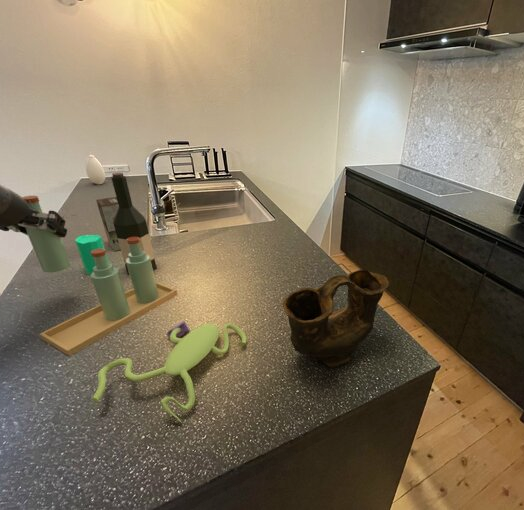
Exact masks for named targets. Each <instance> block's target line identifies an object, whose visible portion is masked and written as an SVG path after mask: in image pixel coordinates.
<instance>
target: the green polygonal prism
mask: <svg viewBox="0 0 524 510" xmlns="http://www.w3.org/2000/svg"><path fill="white" fill-rule="evenodd" d="M74 242H75V244H76V247H77V250H78V253H79V256H80V259H81V262H82V265H83V267H84V270H85V273H87V274H88V275H91V273H92V272H94V271H93V268H94V267H95V266H96V264H95V261H94V258H93V257H92V256H91V253H90V252H91V251H92V250H94V249H100V248H102V249H105V245H104V242H103V238H102V236H101V235H99V234H88V233H86V234H85V235H80V236H78V237H76V239H75V240H74ZM105 250H106V249H105ZM105 255H106V259H107V262H108V263H110V261H109V258H108V255H107V253H106V254H105Z"/></svg>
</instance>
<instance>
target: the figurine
mask: <svg viewBox="0 0 524 510" xmlns="http://www.w3.org/2000/svg"><path fill="white" fill-rule="evenodd" d="M227 329H230V330H233V331H234V332H235V333H237V334H238V336H239V337H240V339H241V341H239V342H238V344H237V345H238V346H239V347H244V346H245V345H246V344H247V341H248V340H247V339H248V338H247V336H246V333H245V332H244V331H243V330H242V329H241V328H240V327H239V326H238V325H236V324H234V323H226V324H225V325H223V327H222V336H223V348H222V349H220V348H219V347H216V346H215V345H216V343H217V341H218V339H219V335H220V329H219V326H218V325H217V324H215V323H210V322H209V323H205V324H202V325H200V326H197V327H195V328H194V329H193V330H191V331H190V328H189V327H188V324H187V323H186V321H185V320H183V321H181V322H180V323H178V324H177V325H175V326H174V327H173V328H171V329H170V330H168V331H167V332H166V333H165V334H166V336H167V337H168V339H169V340H170V341H171V342H172V343H174V344H175V345H174V347H173V348H172V350H171V351H170V352H169V354H168V355H167V357H166V360H165V362H164V365H163V366H162V367H160V368H157V369H154V370H151V371H148V372H144V373H142V374H141V373H140V374H135V373H133V372H132V369H133V359H131V358H129V357H124V358H123V357H122V358H119V359H115V360H113V361H112V362H109V363H107V364H106V365H104V366H103V367H102V368H101V369H100V370H99V371H98V373H97V381H98V385H97V389H96V391H95V393H94V394H93V396H92V397H91V399H92V401H93V402H94V403H96V404H98V403H99V401H100V400H101V398H102V397H103V395H104V393H105V391H106V386H107V373H108V372H109V371H110V370H112V369H114V368H116V367H119V366H122V365H125V368H124V377H125V379H127V380H129V381H131V382H135V383H139V382H144V381H147V380H150V379H154V378H156V377H159V376H161V375H164V374H167V375H169V376H179V375H180V377H181V378H182V379H183V381H184V383H185V387H186V391H187V395H188V401H187V403H186V404H181V402H179V401H177V399H175V398H174V397H171V396H168V395H166V396H165V397H163V399H161V400H160V405H161V407H162V408H163V409H164V410H165V411H166V412H167V413H168V414H170V415H171V416H173V417H175V418H176V419H177V420H178V421H179V423H181V424H183V422H182V421H181V419H180V418H179V417H178V416H177V415H176V413H175V412H174V411H172V409H171V408H170V406H169V404H168V403H170V402H171V401H172V402H173V403H175V404H176V406H178V407H179V408H180V409H181V410H182V411H183V412H190V411H191V410H192V408H193V407H195V402H196V394H195V393H196V392H195V388H194V387H195V386H194V382H193V380H192V378H191V376H190V374H189V370H191V369H192V368H194V367H196V366H197V365H198V364H199V363H201V361H202V360H203V359H205V357H206V356H207V355H208V354H209V353H210V352H212V353H213V354H215V355H218V356H222V355H223V356H224V355H225V354H226V353H227V351H228V349H229V346H230V338H229V334H228V331H227ZM183 335H184V336H183ZM181 336H183V338H180V337H181Z"/></svg>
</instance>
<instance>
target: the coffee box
mask: <svg viewBox="0 0 524 510" xmlns="http://www.w3.org/2000/svg"><path fill="white" fill-rule="evenodd" d="M95 201H96V205H97V208H98V212H99V214H100V218H101V221H102V225H103V227H104V231H105V234H106V238H107V242H108V244H109V246H110V247H111V249H112V251H113V252H117V251H121V249H120V245H119V242H118V238H117V235H116V231H115V228H114V224H113V219H114V217H115V215H116V212H117V210H118V208H119V205H118V201H117V197H116V196H114V197H106V198H98V199H96V200H95Z"/></svg>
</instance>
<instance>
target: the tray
mask: <svg viewBox="0 0 524 510" xmlns="http://www.w3.org/2000/svg"><path fill="white" fill-rule="evenodd" d="M156 285H157V290H158V294H159V297H158V299H156V300H155V301H153V302H150V303H145V304H142V303H138V302H137V300H136V297H135V293H134V289H133V288H131V289H129V290H127V291H125V295H126V298H127V302H128V305H129V308H130V313H129V314H128V315H127V316H126V317H124V318H122V319H119V320H115V321H109V320H107V319H105V316H104V313H103V311H102V308H101V305H100V304H98V305H96V306H94V307H92V308H90V309H88V310H85V311H84V312H82V313H79V314H77V315H75V316H73V317H71V318H69V319H67V320H65V321H63V322H61V323H59V324H57V325H55V326H53V327H50V328H49V329H46V330H45V331H43V332H40V333H39V337H40V339H41V340H42V341H44V342H45V343H47V344H49V345H50V346H52V347H54V348H55V349H57V350H59V351H60V352H62V353H63V354H65V355H67V356H69V357H72V356H73V355H75V354H76V353H79V352H80V351H82V350H84V349H85V348H87V347H89V346H91V345H92V344H94V343H96V342H98V341H99V340H102V339H103V338H104V337H107V336H108V335H110V334H111V333H114V332H115V331H117V330H119V329H120V328H122V327H123V326H126V325H127V324H129V323H131V322H132V321H134V320H136V319H137V318H139V317H141V316H143V315H144V314H147V313H148V312H150V311H152V310H153V309H155V308H157V307H158V306H160V305H162V304H164V303H166V302H167V301H169V300H171V299H172V298H174V297H176V296H177V295H179V293H178V290H177V289H176V288H173V287H171V286H168V285H165V284H164V283H161V282H158V281H156Z"/></svg>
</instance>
